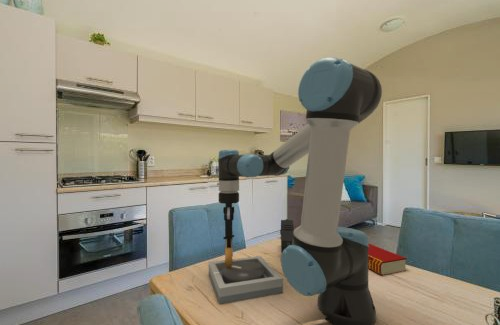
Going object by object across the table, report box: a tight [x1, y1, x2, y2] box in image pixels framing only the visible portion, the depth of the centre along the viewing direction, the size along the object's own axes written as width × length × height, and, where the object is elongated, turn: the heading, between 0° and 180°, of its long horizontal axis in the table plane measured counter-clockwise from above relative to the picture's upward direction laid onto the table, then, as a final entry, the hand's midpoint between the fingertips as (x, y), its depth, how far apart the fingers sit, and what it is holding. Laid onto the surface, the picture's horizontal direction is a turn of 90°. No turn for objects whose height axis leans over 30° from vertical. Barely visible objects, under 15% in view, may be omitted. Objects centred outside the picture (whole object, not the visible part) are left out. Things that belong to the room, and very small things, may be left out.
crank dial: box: [222, 248, 264, 284], centre depth 85 cm, size 14×14×8 cm
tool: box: [279, 218, 295, 255], centre depth 110 cm, size 6×19×15 cm, turn 174°
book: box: [368, 243, 407, 277], centre depth 101 cm, size 18×13×5 cm
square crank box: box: [208, 255, 284, 305], centre depth 85 cm, size 20×20×5 cm
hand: (229, 255), depth 93 cm, fingers closed
